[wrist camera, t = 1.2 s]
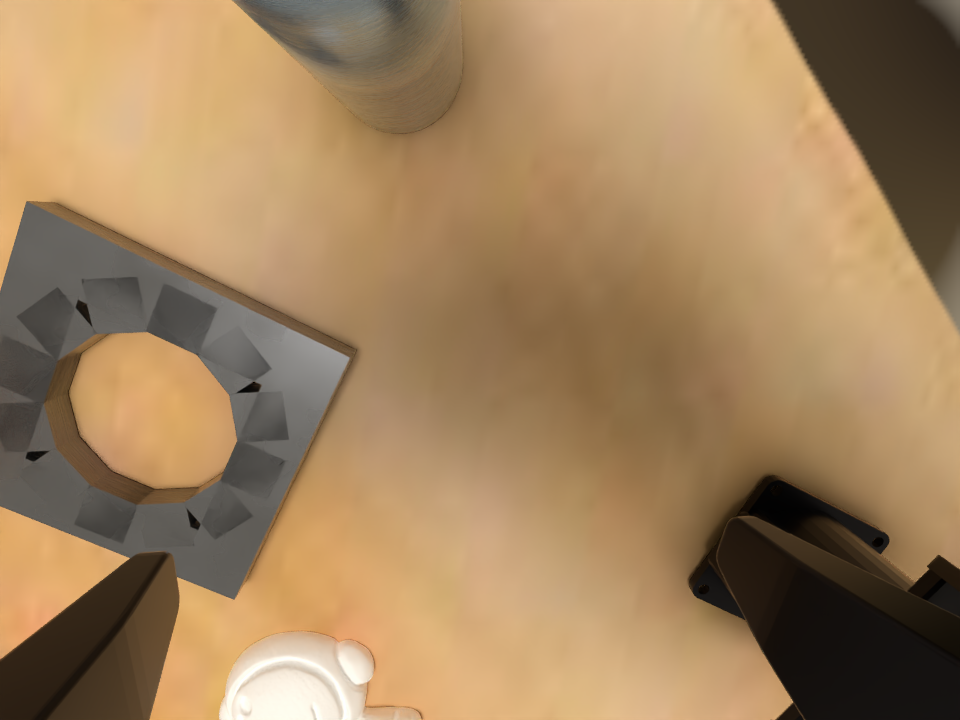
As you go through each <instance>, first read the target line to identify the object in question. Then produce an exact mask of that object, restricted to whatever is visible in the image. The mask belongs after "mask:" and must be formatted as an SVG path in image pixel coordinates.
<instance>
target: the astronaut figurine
mask: <svg viewBox="0 0 960 720" xmlns="http://www.w3.org/2000/svg"><path fill="white" fill-rule="evenodd" d="M373 673H374V661H373V657H372V655H371V653H370V651H369V650H368V649H367V648H366V647H365V646H363V645H362V644H360V643H358V642H356V641H354V640H343V641H341V642H337V640H336V639H335V638H332V637H330V636H327V635H324V634H320V633H315V632H309V631H291V632H283V633H277V634H273V635H270V636H267V637H265V638H263V639H261V640H259V641H257V642H255V643H254V644H252V645H250V646H249V647H248V648H247V649H245V650H244V651H243V652H242V653H241V655H240V656H239V657H238V659H237V660H236V661H235V663H234V665H233V667H232V669H231V671H230V674H229V676H228V680H227V684H226V691H225V696H224V698H223V700H222V703H221V707H220V712H219V718H220V720H421V716H420V714H419V712H418V711H417V710H415V709H412V708H407V707H375V708H368V707H366V706H365V700H366V695H367V682H368V681H369V680H370V679H371V678H372V676H373Z"/></svg>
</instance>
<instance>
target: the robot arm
mask: <svg viewBox="0 0 960 720" xmlns="http://www.w3.org/2000/svg"><path fill="white" fill-rule="evenodd" d="M776 485H777V488H776V489H775V490H774V491H771V489H772V488H773V487H774V486H776ZM875 538H876V539H875ZM874 539H875V540H874ZM873 540H874V541H873ZM888 544H889V537H888V535H887V534H885V533H884V532H883V531H881V530H880V529H879V528H877V527H875V526H873V525H871V524H869V523H867V522H866V521H864V520H862V519H860V518H858V517H856V516H854V515H852V514H850V513H848V512H846V511H844V510H842V509H840V508H838V507H836V506H834V505H832V504H831V503H829V502H827V501H825V500H823V499H821V498H819V497H817V496H815V495H813V494H811V493H809V492H807V491H805V490H803V489H801V488H799V487H797V486H796V485H794V484H792V483H790V482H788V481H786V480H784V479H782V478H780V477H778V476H769V477H766V478H765V479H764V480H763V481H762V482H761V483H760V485H759V486H758V487H757V489H756V490H755V492H754V493H753V494H752V496H751V497H750V498H749V500H748V501H747V502H746V504H745V505H744V507H743V508H742V509H741V511H740V512H739V513H738V515H737V516H736V517H733V518H731V519H730V520H729V521H728V522H727V524H726V527H725V530H724V533H723V535H722V537H721V538H720V540H719V541H718V542H717V544H716V545H715V546H714V548H713V549H712V550H711V552H710V553H709V555H708V556H707V557H706V559H705V560H704V561H703V563H702V564H701V566H700V567H699V568H698V570H697V571H696V572H695V574H694V575H693V577H692V578H691V579H690V582H689V587H690V589H691V591H692V592H693V594H694V596H696V597H697V598H699V599H701V600H703V601H705V602H708V603H710V604H712V605H714V606H716V607H718V608H721V609H723V610H725V611H727V612H729V613H731V614H734V615H736V616H738V617H740V618H742V619H744V620H746V622H747V623H748V625H749V627H750V629H751V631H752V633H753V635H754V637H755V639H756V641H757V643H758V645H759V646H760V648H761V650H762V652H763V654H764V655H765V657H766V659H767V660H768V662H769V664H770V665H771V667H772V669H773V670H774V672H775V673H776V675H777V677H778V678H779V680H780V681H781V683H782V685H783V686H784V688H785V689H786V691H787V693H788V694H789V696H790V697H791V699H792V701H793V703H792V704H791V705H790V706H789V707H788V708H787V709H786V710H785V711H784V712H783V713H782V714H781V715H780V716H779V717H778V718H777V719H776V720H960V569H959V568H957V567H956V566H954V565H953V564H951V563H950V562H948V561H947V560H946V559H944V558H943V557H941V556H940V555H938V556H937V557H936V558H935V559H934V560H933V561H932V562H931V563H930V564H929V565H928V566H927V567H928V568H929V570H928V571H927V572H926V573H925V574H924V575H923V576H922V577H921V578H920V579H919V580H918V581H917V582H916V583H915V582H914V581H913V580H911V579H910V578H909V577H908V576H906V575H905V574H904V573H903V572H901V571H900V570H899V569H898V568H896V567H895V566H894V565H893V564H891V563H890V562H889V561H888V560H887V559H885V558H884V557H883V556H882V555H880V554H881V553H882V552H883V551H884V549H885V548H886V547H887V545H888ZM704 584H705V586H703V587H702V588H699V587H700V586H701V585H704ZM178 609H179V589H178V582H177V576H176V569H175V562H174V558H173V556H172V554H171V553H170V552H168V551H157V552H142V553H138V554H136V555H134V556H133V557H131V558H130V559H129V560H127V561H126V562H125V563H124V564H122V565H121V566H120V567H118V568H117V569H116V570H115V571H113V572H112V573H111V574H109V575H108V576H107V577H106V578H104V579H103V580H102V581H100V582H99V583H98V584H97V585H95V586H94V587H93V588H91V589H90V590H89V591H88V592H86V593H85V594H84V595H82V596H81V597H80V598H79V599H77V600H76V601H75V602H74V603H72V604H71V605H70V606H68V607H67V608H66V609H65V610H63V611H62V612H61V613H59V614H58V615H57V616H56V617H54V618H53V619H52V620H50V621H49V622H48V623H47V624H45V625H44V626H43V627H41V628H40V629H39V630H38V631H36V632H35V633H34V634H32V635H31V636H30V637H29V638H27V639H26V640H25V641H23V642H22V643H21V644H20V645H18V646H17V647H16V648H14V649H13V650H12V651H11V652H9V653H8V654H7V655H6V656H4V657H3V658H2V659H0V720H149V719H150V715H151V712H152V708H153V704H154V700H155V697H156V693H157V689H158V685H159V682H160V678H161V674H162V670H163V667H164V663H165V659H166V655H167V652H168V648H169V644H170V640H171V636H172V633H173V629H174V625H175V621H176V618H177V614H178Z"/></svg>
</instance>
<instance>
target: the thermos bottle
mask: <svg viewBox="0 0 960 720" xmlns="http://www.w3.org/2000/svg"><path fill="white" fill-rule="evenodd" d="M233 1H234V2H235V3H236V4H237V5H238V6H239V7H240V8H241V9H242V10H243V11H244V12H245V13H246V14H247V15H248V16H250V17H251V18H252V19H253V20H254V21H255V22H256V23H257V24H258V25H259V26H260V27H261V28H262V29H263V30H264V31H265V32H267V33H268V34H269V35H270V36H271V37H272V38H273V39H274V40H275V41H276V42H277V43H278V44H279V45H280V46H281V47H282V48H284V49H285V50H286V51H287V52H288V53H289V54H290V55H291V56H292V57H293V58H294V59H295V60H296V61H297V62H298V63H299V64H301V65H302V66H303V67H304V68H305V69H306V70H307V71H308V72H309V73H310V74H311V75H312V76H313V77H314V78H315V79H316V80H318V81H319V82H320V83H321V84H322V85H323V86H324V87H325V88H326V89H327V90H328V91H329V92H330V93H331V94H332V95H333V96H335V97H336V98H337V99H338V100H339V101H340V102H341V103H342V104H343V105H344V106H345V107H346V108H347V109H348V110H349V111H350V112H352V113H353V114H354V115H355V116H356V117H357V118H358V119H360V120H361V121H362V122H364V123H365V124H367V125H368V126H370V127H372V128H375V129H377V130H380V131H383V132H387V133H393V134H404V133H412V132H415V131H419V130H421V129H424V128H426V127H428V126H429V125H431V124H433V123H434V122H435V121H437V120H438V119H439V118H440V117H441V116H442V115H443V114H444V113H445V112H446V111H447V110H448V108H449V107H450V105H451V104H452V102H453V100H454V99H455V97H456V94H457V92H458V89H459V86H460V82H461V79H462V71H463V48H462V22H461V0H233Z"/></svg>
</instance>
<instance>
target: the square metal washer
mask: <svg viewBox="0 0 960 720" xmlns="http://www.w3.org/2000/svg"><path fill="white" fill-rule="evenodd" d="M133 332H149V333H151V334H153V335H155V336H157V337H160V338H162V339H164V340H166V341H168V342H170V343H172V344H175V345H177V346H179V347H181V348H183V349H185V350H188V351H190V352H192V353H194V354H196V355H197V356H198V357H199V358H200V359H201V361H202V362H203V363H204V364H205V366H206V367H207V368H208V369H209V371H210V372H211V373H212V374H213V375H214V377H215V378H216V379H217V380H218V382H219V383H220V384H221V385H222V387H223V388H224V389H225V390H226V392H227V393H228V394H229V396H230V401H231V407H232V413H233V418H234V424H235V430H236V435H237V443H236V445H235V448H234V450H233V452H232V454H231V457H230V459H229V461H228V463H227V466H226V468H225V470H224V472H223V473H222V474H220V475H218V476H217V477H215V478H214V479H212V480H210V481H209V482H207V483H206V484H204V485H202V486H201V487H199V488H181V489H159V490H154V489H152V488H149V487H147V486H145V485H142V484H140V483H138V482H135V481H133V480H130V479H128V478H126V477H123V476H121V475H119V474H116V473H114V472H111V471H110V470H109V469H108V467H107V466H106V465H105V464H104V463H103V462H102V461H101V460H100V459H99V458H98V457H97V455H96V454H95V453H94V452H93V451H92V450H91V449H90V448H89V447H88V446H87V445H86V443H85V442H84V441H83V440H82V439H81V438H80V437H79V434H78V430H77V427H76V423H75V419H74V415H73V411H72V408H71V404H70V400H69V396H68V391H69V388H70V385H71V382H72V379H73V376H74V373H75V370H76V367H77V364H78V361H79V358H80V356H81V353H82V352H83V351H85V350H86V349H88V348H89V347H91V346H92V345H93V344H95V343H96V342H98V341H99V340H101V339H102V338H103V337H105V336H106V335H108V334H110V333H133ZM355 353H356V349H354V348H351V347H349V346H347V345H345V344H343V343H341V342H339V341H337V340H335V339H333V338H331V337H329V336H327V335H325V334H323V333H321V332H319V331H317V330H315V329H312V328H310V327H308V326H306V325H304V324H302V323H300V322H298V321H296V320H294V319H292V318H290V317H288V316H286V315H284V314H282V313H280V312H278V311H276V310H274V309H271V308H269V307H267V306H265V305H263V304H261V303H259V302H257V301H255V300H253V299H251V298H249V297H247V296H245V295H243V294H241V293H239V292H237V291H235V290H233V289H230V288H228V287H226V286H224V285H222V284H220V283H218V282H216V281H214V280H212V279H210V278H208V277H206V276H204V275H202V274H200V273H198V272H196V271H194V270H192V269H189V268H187V267H185V266H183V265H181V264H179V263H177V262H175V261H173V260H171V259H169V258H167V257H165V256H163V255H161V254H159V253H157V252H155V251H153V250H151V249H148V248H146V247H144V246H142V245H140V244H138V243H136V242H134V241H132V240H130V239H128V238H126V237H124V236H122V235H120V234H118V233H116V232H114V231H112V230H110V229H107V228H105V227H103V226H101V225H99V224H97V223H95V222H93V221H91V220H89V219H87V218H85V217H83V216H81V215H79V214H77V213H75V212H73V211H71V210H69V209H66V208H64V207H62V206H60V205H58V204H56V203H54V202H34V201H27V202H26V205H25V208H24V212H23V215H22V219H21V222H20V226H19V229H18V232H17V236H16V239H15V243H14V246H13V250H12V253H11V256H10V260H9V263H8V267H7V270H6V273H5V277H4V280H3V284H2V287H1V291H0V506H1V507H4V508H6V509H9V510H11V511H14V512H16V513H19V514H21V515H24V516H26V517H29V518H31V519H34V520H36V521H39V522H41V523H44V524H46V525H49V526H51V527H54V528H56V529H59V530H61V531H64V532H66V533H69V534H71V535H74V536H76V537H79V538H81V539H84V540H86V541H89V542H91V543H94V544H96V545H99V546H101V547H104V548H106V549H109V550H111V551H114V552H116V553H119V554H121V555H124V556H126V557H129V558H131V557H133V556H134V555H136V554H138V553H142V552H157V551H168V552H170V553H171V554H172V556H173V558H174V562H175V569H176V576H177V577H179V578H181V579H184V580H186V581H189V582H191V583H194V584H196V585H199V586H201V587H204V588H206V589H209V590H211V591H214V592H216V593H219V594H221V595H224V596H226V597H229V598H231V599H234V600H235V598H236V596H237V595H238V593H239V592H240V590H241V588H242V587H243V585H244V584H245V582H246V580H247V578H248V576H249V574H250V572H251V570H252V568H253V566H254V564H255V561H256V559H257V557H258V555H259V553H260V551H261V549H262V547H263V545H264V543H265V541H266V538H267V536H268V534H269V532H270V530H271V528H272V526H273V524H274V522H275V520H276V518H277V515H278V513H279V511H280V509H281V507H282V505H283V503H284V501H285V499H286V497H287V495H288V492H289V490H290V488H291V486H292V484H293V482H294V480H295V478H296V476H297V474H298V472H299V470H300V467H301V465H302V463H303V461H304V459H305V457H306V455H307V453H308V451H309V449H310V447H311V444H312V442H313V440H314V438H315V436H316V434H317V432H318V430H319V428H320V426H321V424H322V421H323V419H324V417H325V415H326V413H327V411H328V409H329V407H330V405H331V403H332V401H333V399H334V396H335V394H336V392H337V390H338V388H339V386H340V384H341V382H342V380H343V378H344V376H345V373H346V371H347V369H348V367H349V365H350V363H351V361H352V359H353V357H354V355H355ZM253 381H254V382H256V383H253V384H250V383H252V382H253Z"/></svg>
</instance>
